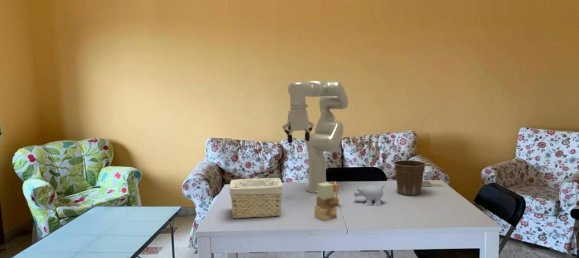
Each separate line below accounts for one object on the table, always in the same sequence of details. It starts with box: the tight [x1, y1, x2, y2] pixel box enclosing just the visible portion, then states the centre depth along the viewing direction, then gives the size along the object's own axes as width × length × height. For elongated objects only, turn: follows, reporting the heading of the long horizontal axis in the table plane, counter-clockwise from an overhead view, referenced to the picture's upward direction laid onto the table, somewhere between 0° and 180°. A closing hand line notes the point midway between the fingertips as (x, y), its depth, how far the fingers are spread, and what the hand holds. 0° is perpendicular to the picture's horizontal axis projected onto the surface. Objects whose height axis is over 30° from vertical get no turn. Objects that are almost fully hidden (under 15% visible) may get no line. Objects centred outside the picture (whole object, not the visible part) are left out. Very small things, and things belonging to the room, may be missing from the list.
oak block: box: [314, 204, 338, 222], centre depth 173 cm, size 7×7×5 cm
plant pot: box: [393, 159, 427, 197], centre depth 205 cm, size 16×16×16 cm
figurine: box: [333, 181, 345, 206], centre depth 188 cm, size 8×6×12 cm
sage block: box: [316, 182, 334, 200], centre depth 172 cm, size 5×5×6 cm
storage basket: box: [228, 177, 284, 219], centre depth 180 cm, size 24×16×15 cm
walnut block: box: [316, 196, 336, 209], centre depth 172 cm, size 6×6×4 cm
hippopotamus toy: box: [353, 183, 386, 207], centre depth 191 cm, size 11×15×10 cm
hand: (298, 141), depth 193 cm, fingers open, 9 cm apart
